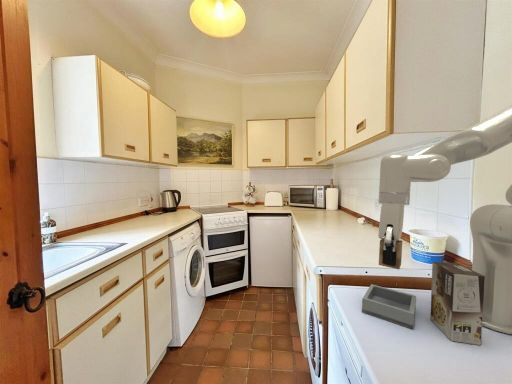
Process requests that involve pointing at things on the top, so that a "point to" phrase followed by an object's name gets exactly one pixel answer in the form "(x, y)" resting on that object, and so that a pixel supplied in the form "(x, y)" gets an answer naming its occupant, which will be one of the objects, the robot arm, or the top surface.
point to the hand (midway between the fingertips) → (390, 261)
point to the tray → (390, 305)
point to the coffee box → (457, 302)
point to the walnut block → (398, 254)
